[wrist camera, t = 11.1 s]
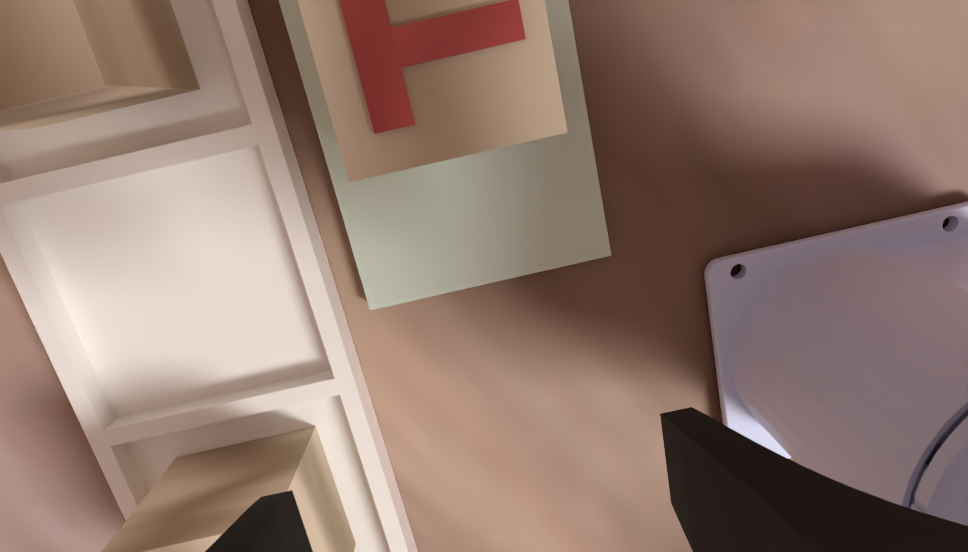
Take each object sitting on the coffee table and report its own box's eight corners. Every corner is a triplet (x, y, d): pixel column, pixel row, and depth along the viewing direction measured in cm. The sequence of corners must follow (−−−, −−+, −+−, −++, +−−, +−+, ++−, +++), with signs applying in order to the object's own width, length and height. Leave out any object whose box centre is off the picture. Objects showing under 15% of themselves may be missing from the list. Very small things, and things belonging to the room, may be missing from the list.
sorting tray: (188, -192, 16) (167, -214, 15) (421, 565, 23) (420, 589, 22) (-134, -113, 16) (-179, -129, 15) (195, 614, 23) (181, 641, 22)
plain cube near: (136, -100, 16) (2, -183, 12) (200, 89, 18) (104, 85, 13) (-42, -57, 16) (-248, -122, 12) (36, 128, 18) (-118, 138, 13)
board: (522, -246, 16) (524, -259, 16) (607, 251, 20) (611, 255, 20) (232, -175, 16) (224, -185, 16) (372, 304, 20) (369, 310, 20)
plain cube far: (315, 425, 21) (273, 522, 16) (355, 543, 22) (328, 664, 18) (176, 457, 21) (93, 562, 16) (225, 571, 22) (161, 699, 18)
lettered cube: (503, -63, 17) (523, -130, 12) (538, 124, 18) (568, 132, 13) (328, -21, 17) (276, -72, 12) (377, 160, 18) (348, 183, 13)
